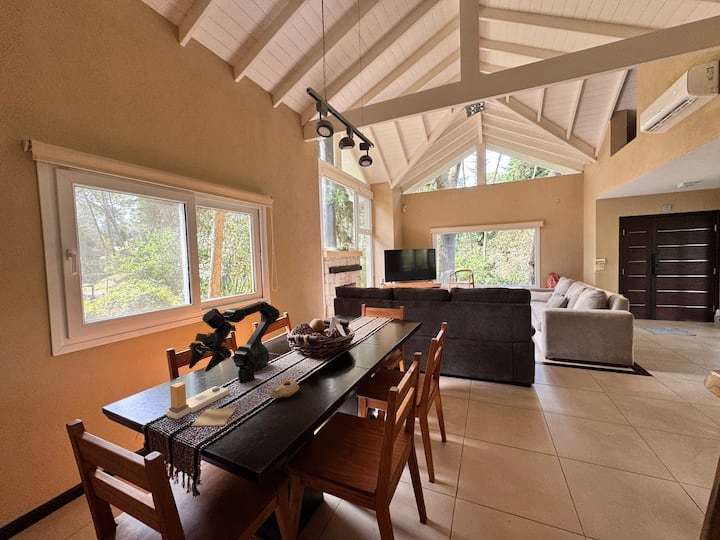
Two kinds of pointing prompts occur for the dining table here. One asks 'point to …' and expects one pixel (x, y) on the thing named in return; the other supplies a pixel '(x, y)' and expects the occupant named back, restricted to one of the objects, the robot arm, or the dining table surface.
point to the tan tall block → (178, 397)
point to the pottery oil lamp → (284, 389)
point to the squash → (261, 356)
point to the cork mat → (214, 417)
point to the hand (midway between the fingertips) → (197, 369)
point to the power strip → (200, 401)
